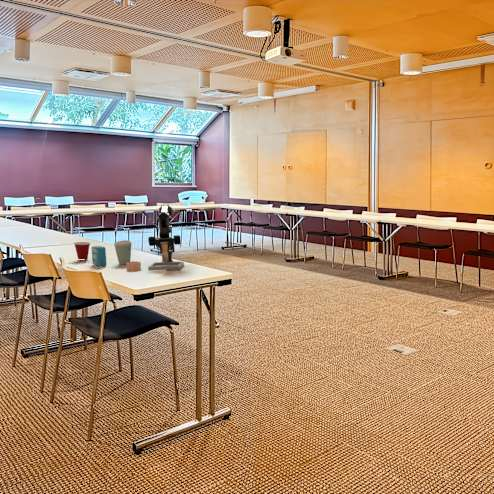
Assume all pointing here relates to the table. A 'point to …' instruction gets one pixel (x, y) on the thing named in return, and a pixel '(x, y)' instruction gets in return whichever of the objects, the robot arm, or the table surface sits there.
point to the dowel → (164, 251)
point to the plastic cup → (82, 249)
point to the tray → (166, 266)
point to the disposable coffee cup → (123, 251)
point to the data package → (99, 255)
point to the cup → (133, 266)
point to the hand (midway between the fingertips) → (164, 251)
